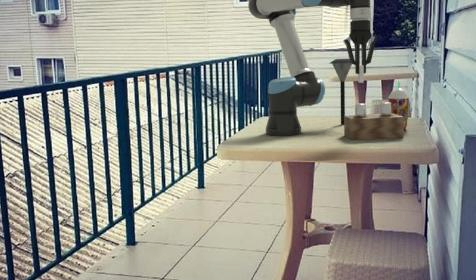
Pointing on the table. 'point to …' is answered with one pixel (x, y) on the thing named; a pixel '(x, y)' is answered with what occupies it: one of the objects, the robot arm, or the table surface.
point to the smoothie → (399, 103)
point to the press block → (374, 127)
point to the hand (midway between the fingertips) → (360, 82)
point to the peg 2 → (385, 109)
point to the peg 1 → (360, 110)
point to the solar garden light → (342, 80)
